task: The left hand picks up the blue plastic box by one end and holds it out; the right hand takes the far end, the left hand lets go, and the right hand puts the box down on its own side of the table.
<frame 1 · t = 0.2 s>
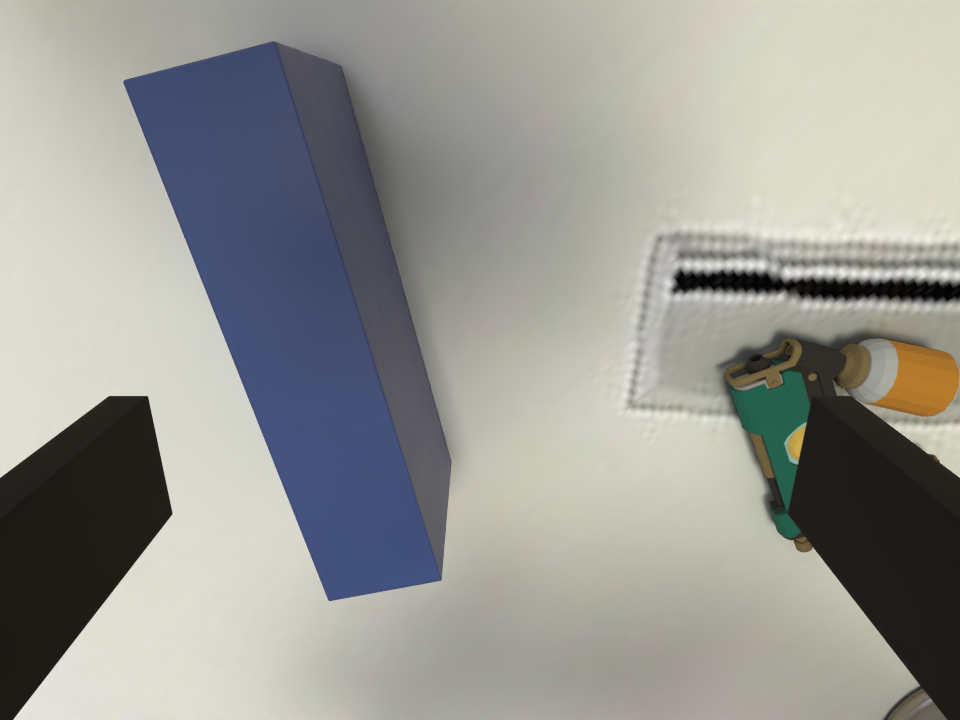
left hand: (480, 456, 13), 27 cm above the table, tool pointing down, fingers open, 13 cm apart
spray gun: (826, 434, 43), on the table
box: (355, 297, 40), on the table
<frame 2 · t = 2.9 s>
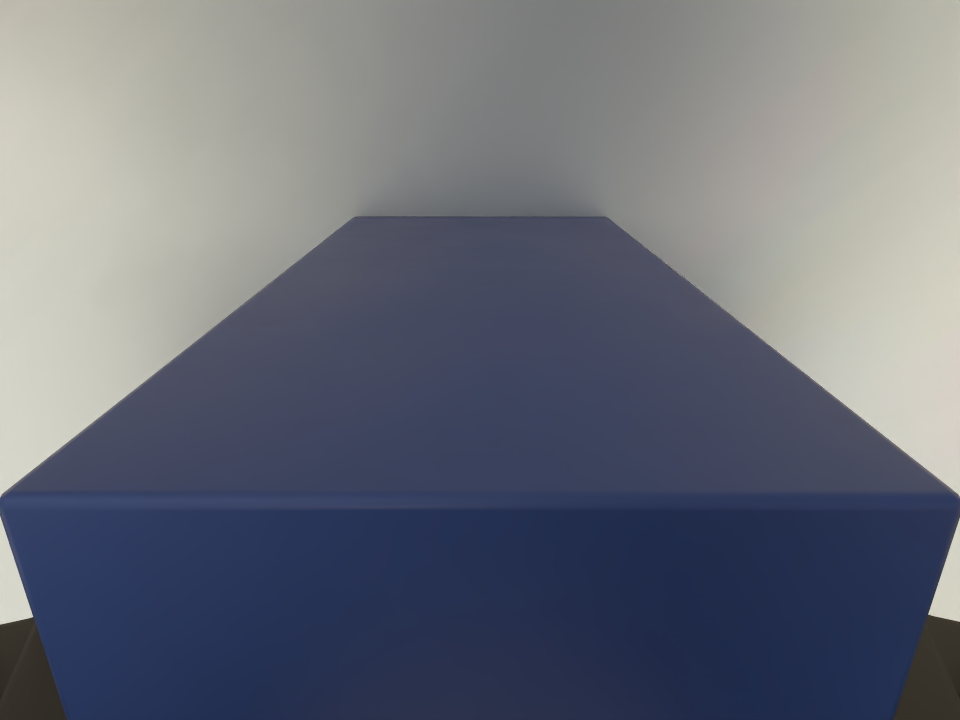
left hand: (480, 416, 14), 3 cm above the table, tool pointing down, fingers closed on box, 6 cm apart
box: (480, 631, 20), on the table, touching left hand
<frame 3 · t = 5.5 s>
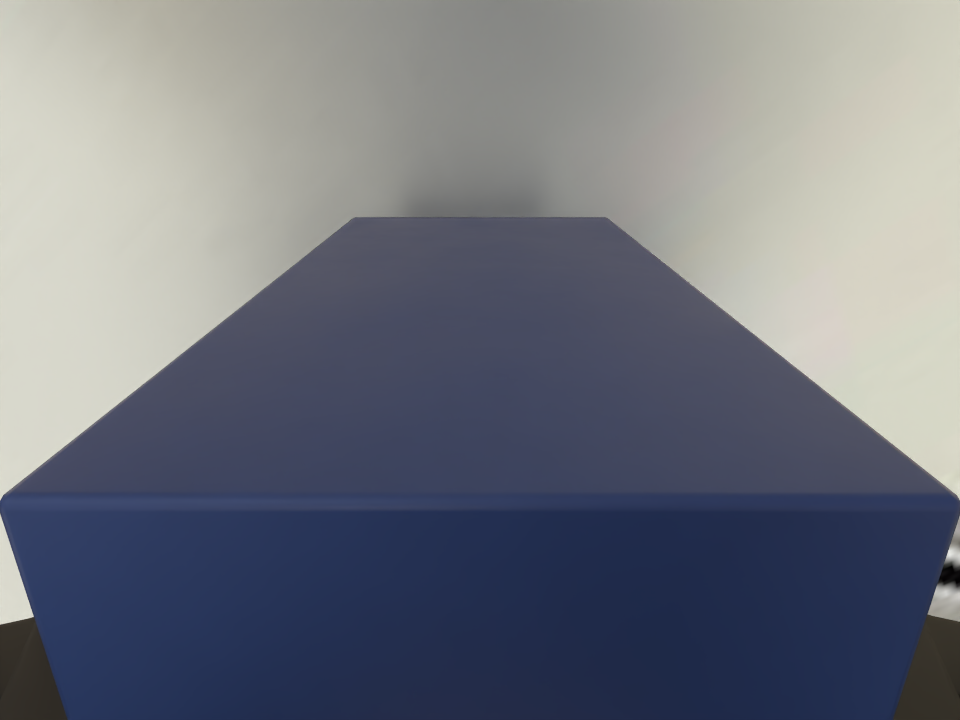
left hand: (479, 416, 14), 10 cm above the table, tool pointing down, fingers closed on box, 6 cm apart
box: (480, 631, 20), point 7 cm above the table, touching left hand
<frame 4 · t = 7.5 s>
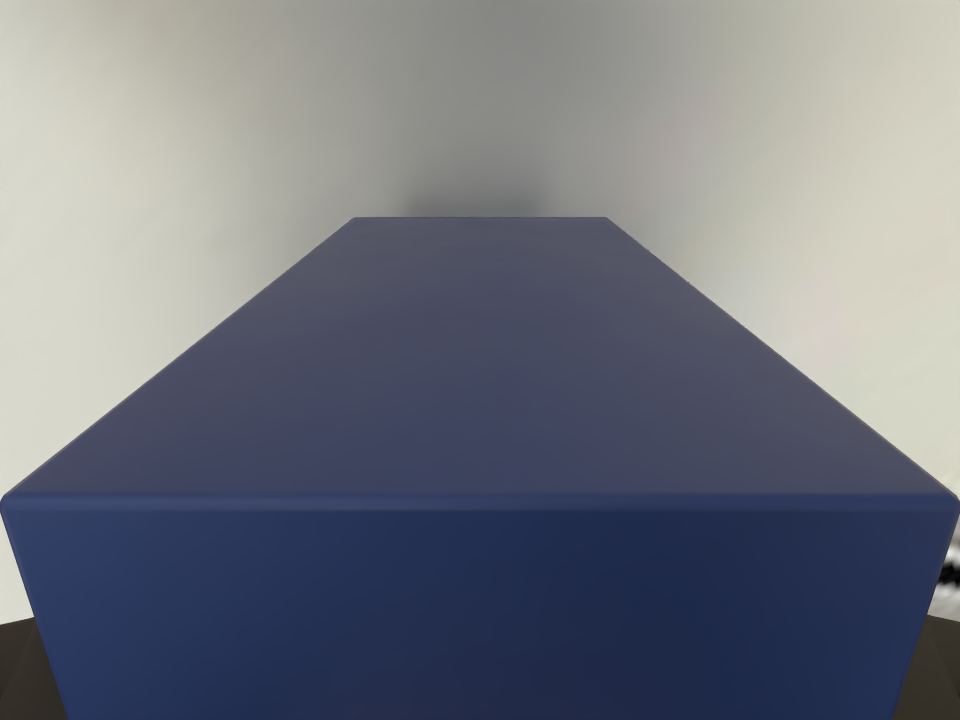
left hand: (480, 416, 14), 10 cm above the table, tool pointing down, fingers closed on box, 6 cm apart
box: (480, 631, 20), point 7 cm above the table, touching left hand, right hand
when the left hand's fingers open (10 cm above the table, at t = 8.2 s): box stays where it is, held by the right hand.
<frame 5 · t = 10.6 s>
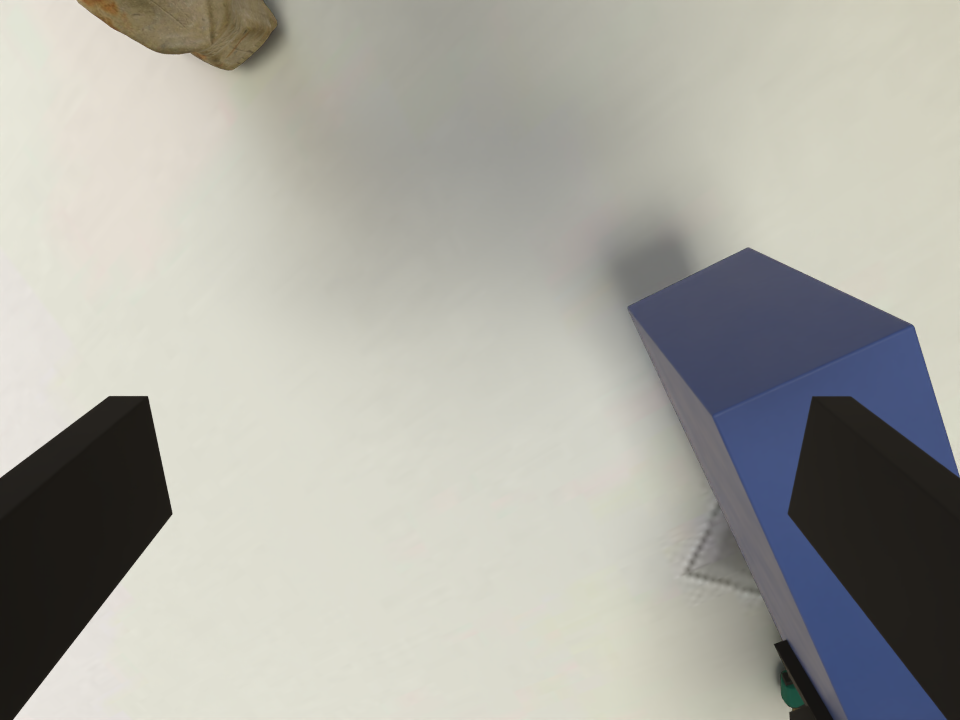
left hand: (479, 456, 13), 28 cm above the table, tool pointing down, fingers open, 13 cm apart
spray gun: (841, 625, 50), on the table
sculpture: (224, 1, 34), on the table
box: (774, 484, 34), point 10 cm above the table, touching right hand
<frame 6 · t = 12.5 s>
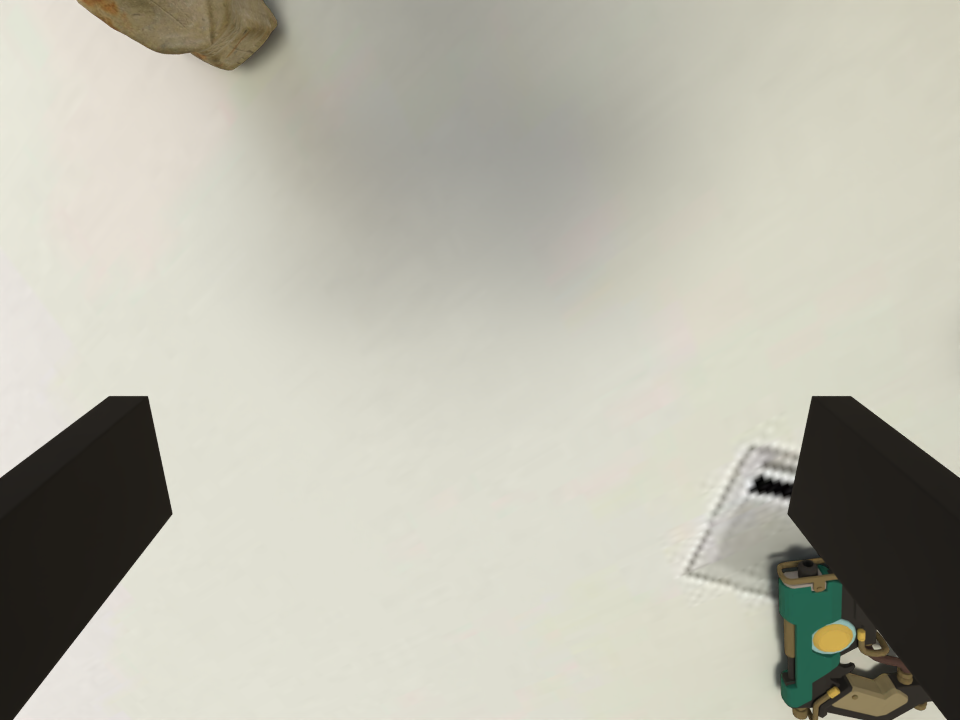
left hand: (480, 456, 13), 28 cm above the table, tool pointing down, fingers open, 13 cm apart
spray gun: (841, 625, 50), on the table
sculpture: (224, 1, 34), on the table
when the right hand's fingers open (4 cm above the table, at t = 14.0 s): box drops 1 cm, on the table.
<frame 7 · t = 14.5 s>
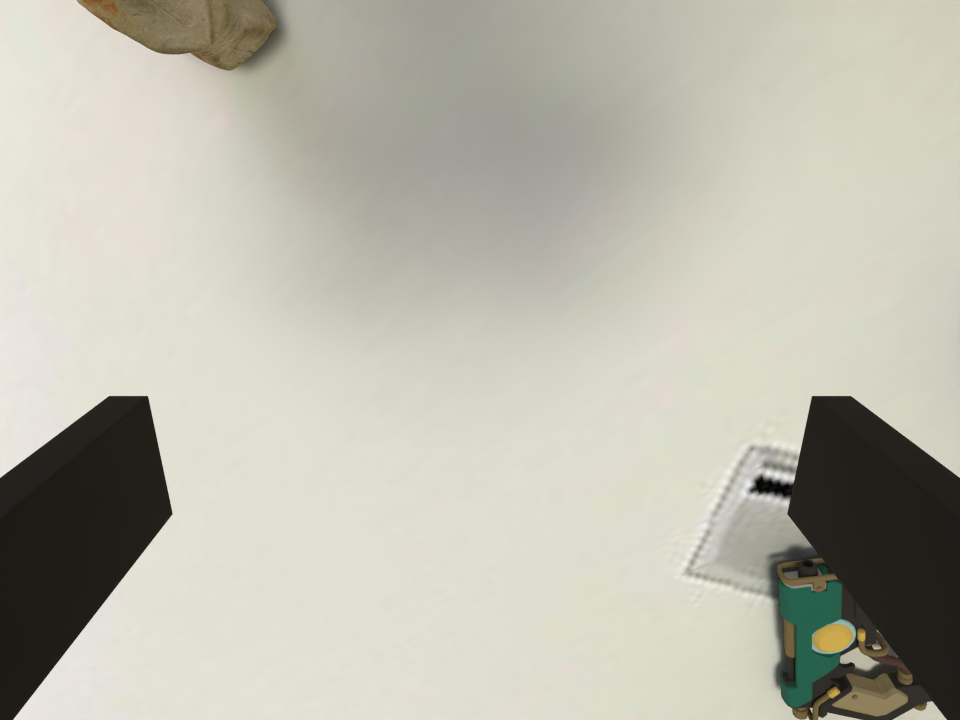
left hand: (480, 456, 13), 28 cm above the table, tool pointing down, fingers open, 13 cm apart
spray gun: (841, 625, 50), on the table
sculpture: (224, 1, 34), on the table
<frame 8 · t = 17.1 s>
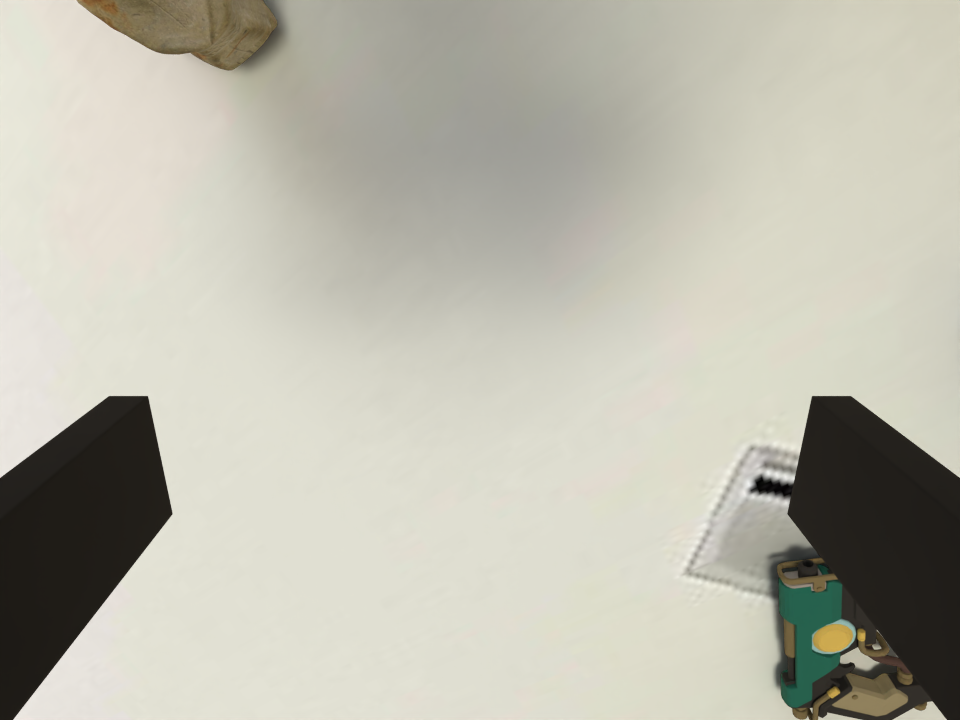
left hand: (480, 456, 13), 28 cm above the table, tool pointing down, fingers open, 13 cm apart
spray gun: (841, 625, 50), on the table
sculpture: (224, 1, 34), on the table
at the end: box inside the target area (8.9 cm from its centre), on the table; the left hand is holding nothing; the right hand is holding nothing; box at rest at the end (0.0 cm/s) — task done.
